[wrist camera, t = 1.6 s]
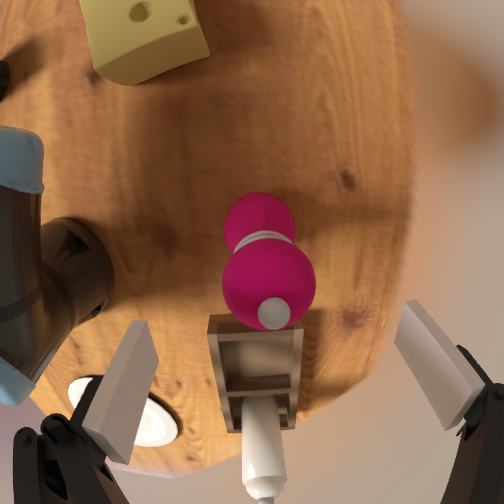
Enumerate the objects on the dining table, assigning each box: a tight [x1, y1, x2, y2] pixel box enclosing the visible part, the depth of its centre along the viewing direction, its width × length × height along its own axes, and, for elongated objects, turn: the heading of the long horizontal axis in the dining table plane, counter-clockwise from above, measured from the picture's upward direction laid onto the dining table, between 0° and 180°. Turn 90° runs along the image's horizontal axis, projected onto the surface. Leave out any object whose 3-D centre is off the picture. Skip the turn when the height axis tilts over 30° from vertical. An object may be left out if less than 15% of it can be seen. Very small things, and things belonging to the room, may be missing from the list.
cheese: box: [79, 0, 210, 86], centre depth 20 cm, size 10×11×10 cm
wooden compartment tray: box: [207, 314, 304, 433], centre depth 40 cm, size 24×12×4 cm, turn 3°
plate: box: [68, 377, 178, 447], centre depth 47 cm, size 25×25×2 cm
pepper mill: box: [222, 192, 316, 331], centre depth 24 cm, size 7×7×20 cm
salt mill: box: [242, 394, 287, 504], centre depth 34 cm, size 6×6×20 cm
